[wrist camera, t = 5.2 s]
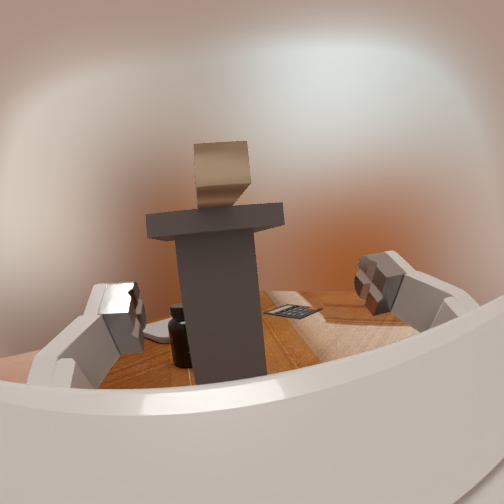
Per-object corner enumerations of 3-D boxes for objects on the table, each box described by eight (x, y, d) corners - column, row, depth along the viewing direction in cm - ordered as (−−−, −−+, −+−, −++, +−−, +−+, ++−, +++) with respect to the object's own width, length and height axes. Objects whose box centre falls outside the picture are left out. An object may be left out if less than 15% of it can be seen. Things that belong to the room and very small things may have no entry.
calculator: (299, 317, 77) (262, 311, 89) (300, 320, 77) (263, 314, 89) (323, 307, 85) (287, 303, 96) (323, 310, 85) (287, 306, 96)
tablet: (235, 321, 84) (235, 314, 84) (165, 347, 64) (163, 338, 63) (200, 315, 94) (199, 309, 94) (134, 335, 74) (133, 328, 74)
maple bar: (251, 182, 15) (246, 141, 15) (196, 187, 15) (193, 144, 15) (220, 220, 37) (219, 201, 37) (197, 222, 36) (196, 203, 36)
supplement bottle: (201, 369, 50) (192, 308, 49) (169, 367, 51) (158, 309, 50) (210, 355, 56) (203, 300, 56) (181, 355, 57) (172, 302, 57)
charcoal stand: (298, 443, 26) (282, 202, 25) (191, 461, 24) (145, 214, 23) (269, 390, 40) (252, 217, 39) (191, 401, 37) (164, 226, 37)
